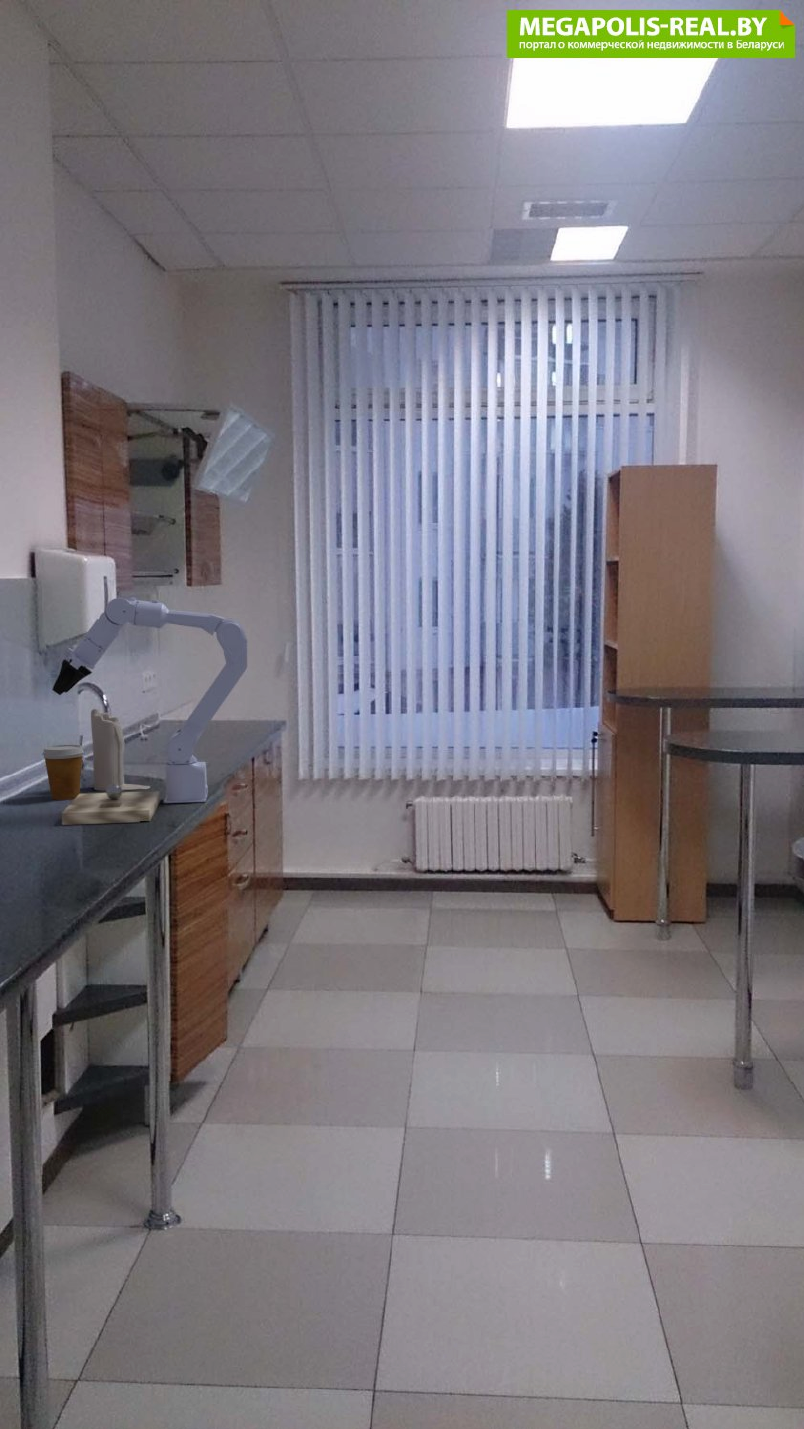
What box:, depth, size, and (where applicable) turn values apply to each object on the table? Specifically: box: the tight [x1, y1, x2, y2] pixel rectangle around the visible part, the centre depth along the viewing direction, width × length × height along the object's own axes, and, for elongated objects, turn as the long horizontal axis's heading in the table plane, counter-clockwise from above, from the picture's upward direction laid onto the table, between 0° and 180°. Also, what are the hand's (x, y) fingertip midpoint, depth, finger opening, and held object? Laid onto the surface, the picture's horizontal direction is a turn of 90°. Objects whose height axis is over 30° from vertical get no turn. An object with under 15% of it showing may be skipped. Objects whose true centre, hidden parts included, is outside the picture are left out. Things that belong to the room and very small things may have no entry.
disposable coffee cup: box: [41, 744, 85, 801], centre depth 269 cm, size 10×10×12 cm
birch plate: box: [61, 790, 161, 826], centre depth 250 cm, size 18×22×2 cm
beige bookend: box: [90, 708, 151, 792], centre depth 279 cm, size 7×14×20 cm, turn 88°
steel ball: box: [105, 784, 123, 800], centre depth 252 cm, size 4×4×4 cm
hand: (59, 691), depth 256 cm, fingers open, 7 cm apart
